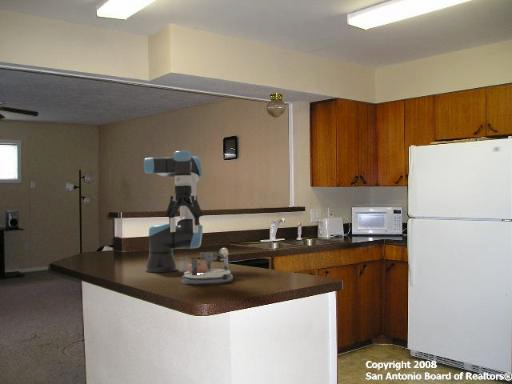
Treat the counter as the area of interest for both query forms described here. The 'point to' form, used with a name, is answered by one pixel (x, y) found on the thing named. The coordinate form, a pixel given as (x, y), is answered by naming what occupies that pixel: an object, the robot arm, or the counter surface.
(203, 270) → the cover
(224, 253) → the indicator stand
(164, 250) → the robot arm
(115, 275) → the counter surface
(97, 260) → the counter surface
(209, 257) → the mechanical component
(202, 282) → the turntable base
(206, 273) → the platter
